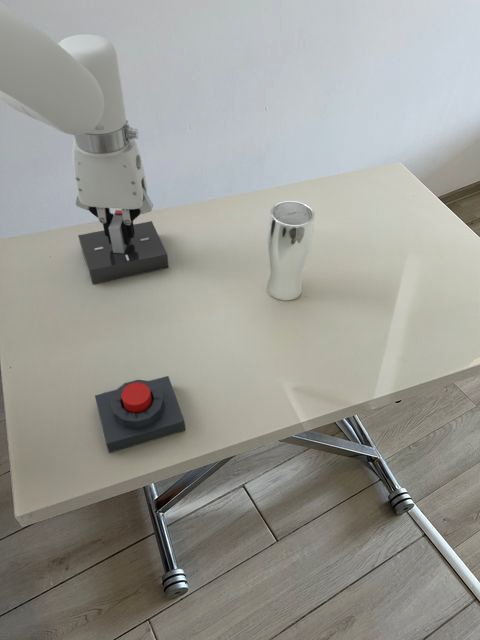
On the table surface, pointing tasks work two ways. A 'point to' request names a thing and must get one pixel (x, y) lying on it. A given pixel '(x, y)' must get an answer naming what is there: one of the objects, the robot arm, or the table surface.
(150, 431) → the stop block
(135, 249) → the panel
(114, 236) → the hob knob
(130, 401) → the stop button
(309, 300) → the table surface
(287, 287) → the beer glass
